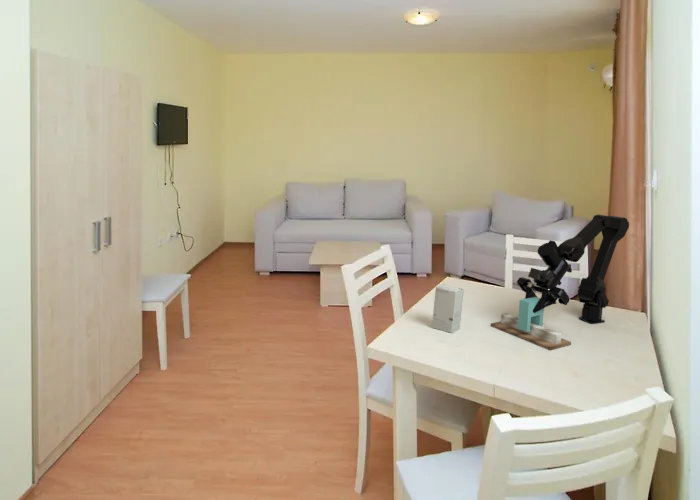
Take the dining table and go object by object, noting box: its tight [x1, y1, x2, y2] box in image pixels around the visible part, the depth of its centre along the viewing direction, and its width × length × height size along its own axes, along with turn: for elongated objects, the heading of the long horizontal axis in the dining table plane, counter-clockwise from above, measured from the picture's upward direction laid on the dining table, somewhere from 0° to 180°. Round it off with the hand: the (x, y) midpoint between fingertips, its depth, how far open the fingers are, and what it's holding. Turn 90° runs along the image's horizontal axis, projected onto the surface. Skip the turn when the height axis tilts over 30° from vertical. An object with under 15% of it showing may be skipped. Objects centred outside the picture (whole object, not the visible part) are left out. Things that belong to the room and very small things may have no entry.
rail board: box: [490, 313, 572, 351], centre depth 199 cm, size 26×10×4 cm, turn 31°
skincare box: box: [431, 283, 465, 334], centre depth 203 cm, size 8×6×15 cm
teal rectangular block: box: [517, 296, 545, 332], centre depth 198 cm, size 7×4×10 cm, turn 121°
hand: (528, 310), depth 197 cm, fingers closed on teal rectangular block, 4 cm apart
